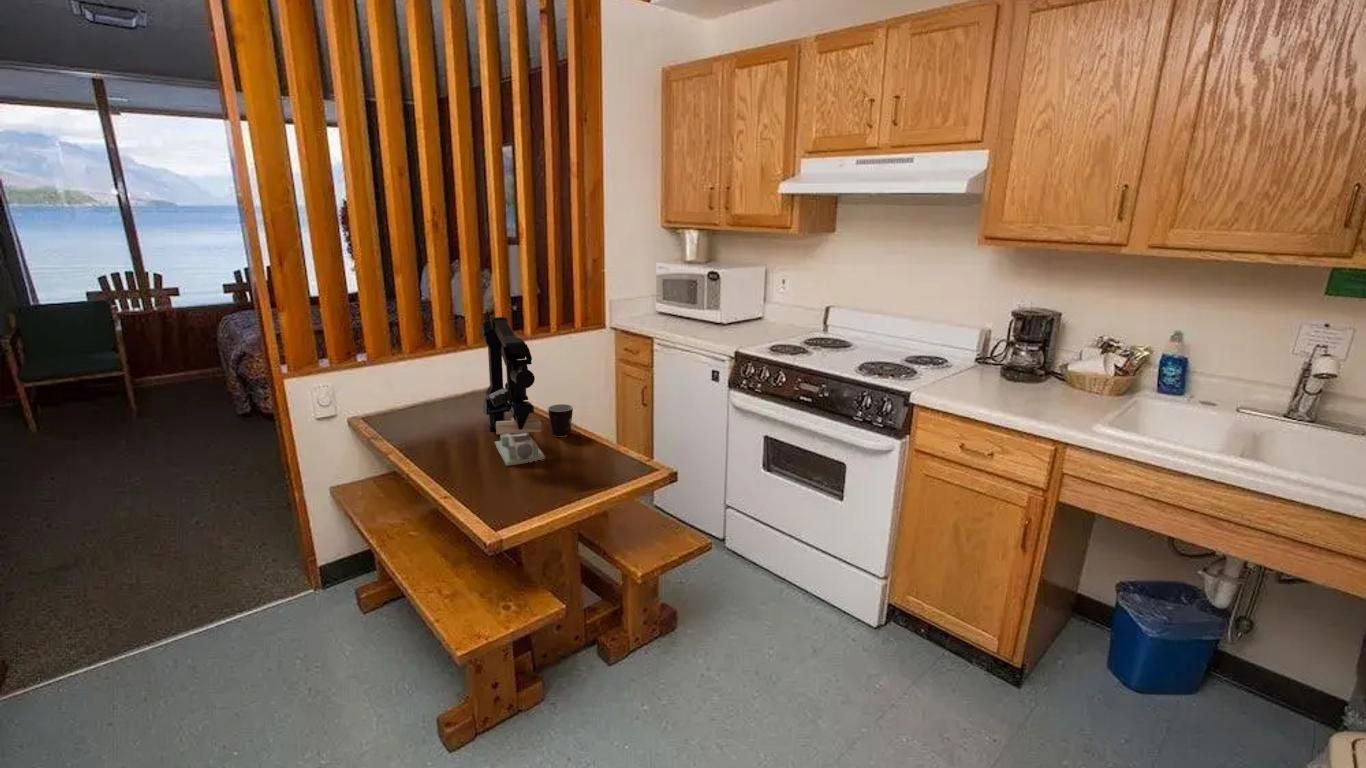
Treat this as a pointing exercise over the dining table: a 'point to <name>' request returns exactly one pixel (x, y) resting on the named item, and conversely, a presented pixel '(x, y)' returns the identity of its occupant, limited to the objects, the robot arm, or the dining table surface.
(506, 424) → the tan rectangular block
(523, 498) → the dining table surface
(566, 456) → the dining table surface
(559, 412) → the coffee mug
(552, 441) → the dining table surface
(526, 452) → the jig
